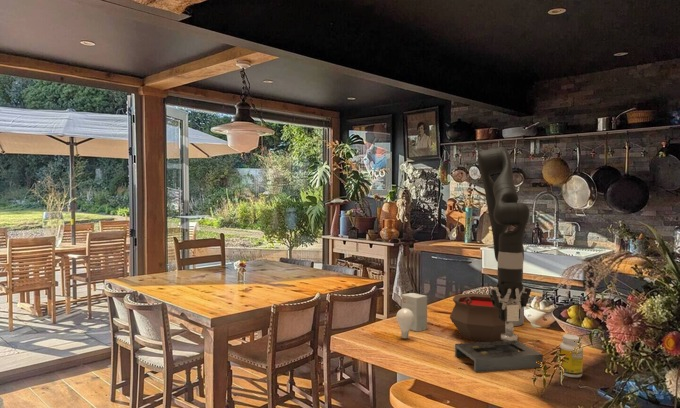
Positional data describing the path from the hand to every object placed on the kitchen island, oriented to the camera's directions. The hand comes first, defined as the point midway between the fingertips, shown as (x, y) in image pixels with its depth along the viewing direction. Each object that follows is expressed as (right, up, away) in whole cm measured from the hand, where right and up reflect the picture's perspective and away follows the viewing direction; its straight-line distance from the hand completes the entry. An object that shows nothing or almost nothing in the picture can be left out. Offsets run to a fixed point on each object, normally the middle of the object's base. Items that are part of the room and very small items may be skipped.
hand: (509, 320), depth 147 cm
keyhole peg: (0, -6, 0) cm, 6 cm away
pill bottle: (+14, -13, -10) cm, 22 cm away
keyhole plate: (-4, -13, -1) cm, 14 cm away
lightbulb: (-30, -12, +22) cm, 39 cm away
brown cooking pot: (-1, -13, +26) cm, 29 cm away
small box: (-24, -12, +35) cm, 44 cm away
